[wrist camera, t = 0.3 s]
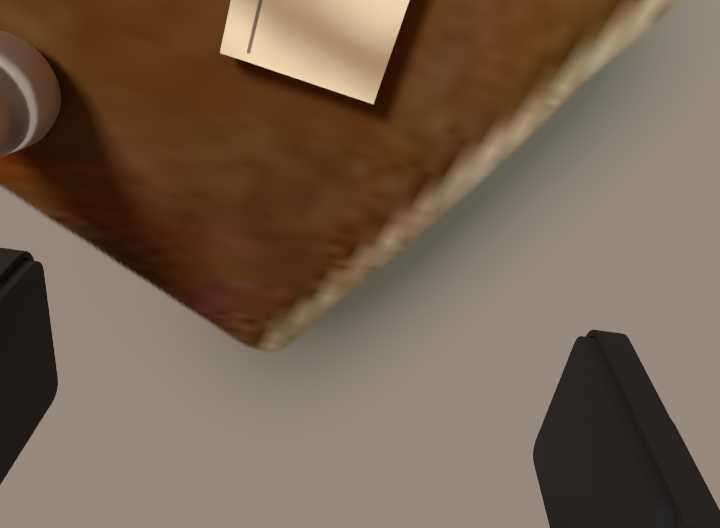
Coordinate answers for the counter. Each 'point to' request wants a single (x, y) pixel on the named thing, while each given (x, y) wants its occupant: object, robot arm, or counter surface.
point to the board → (317, 40)
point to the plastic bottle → (25, 94)
